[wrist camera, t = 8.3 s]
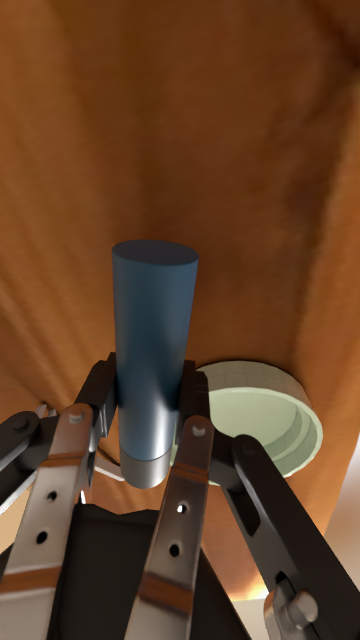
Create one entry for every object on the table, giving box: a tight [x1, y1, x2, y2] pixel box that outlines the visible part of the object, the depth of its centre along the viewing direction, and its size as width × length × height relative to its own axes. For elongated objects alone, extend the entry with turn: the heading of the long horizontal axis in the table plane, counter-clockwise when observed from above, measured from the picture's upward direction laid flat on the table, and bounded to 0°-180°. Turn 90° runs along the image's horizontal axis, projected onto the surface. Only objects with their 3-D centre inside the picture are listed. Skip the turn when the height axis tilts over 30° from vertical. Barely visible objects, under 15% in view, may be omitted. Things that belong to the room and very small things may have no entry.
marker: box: [112, 240, 199, 489], centre depth 13 cm, size 14×3×3 cm, turn 174°
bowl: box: [170, 361, 323, 486], centre depth 32 cm, size 19×19×4 cm
